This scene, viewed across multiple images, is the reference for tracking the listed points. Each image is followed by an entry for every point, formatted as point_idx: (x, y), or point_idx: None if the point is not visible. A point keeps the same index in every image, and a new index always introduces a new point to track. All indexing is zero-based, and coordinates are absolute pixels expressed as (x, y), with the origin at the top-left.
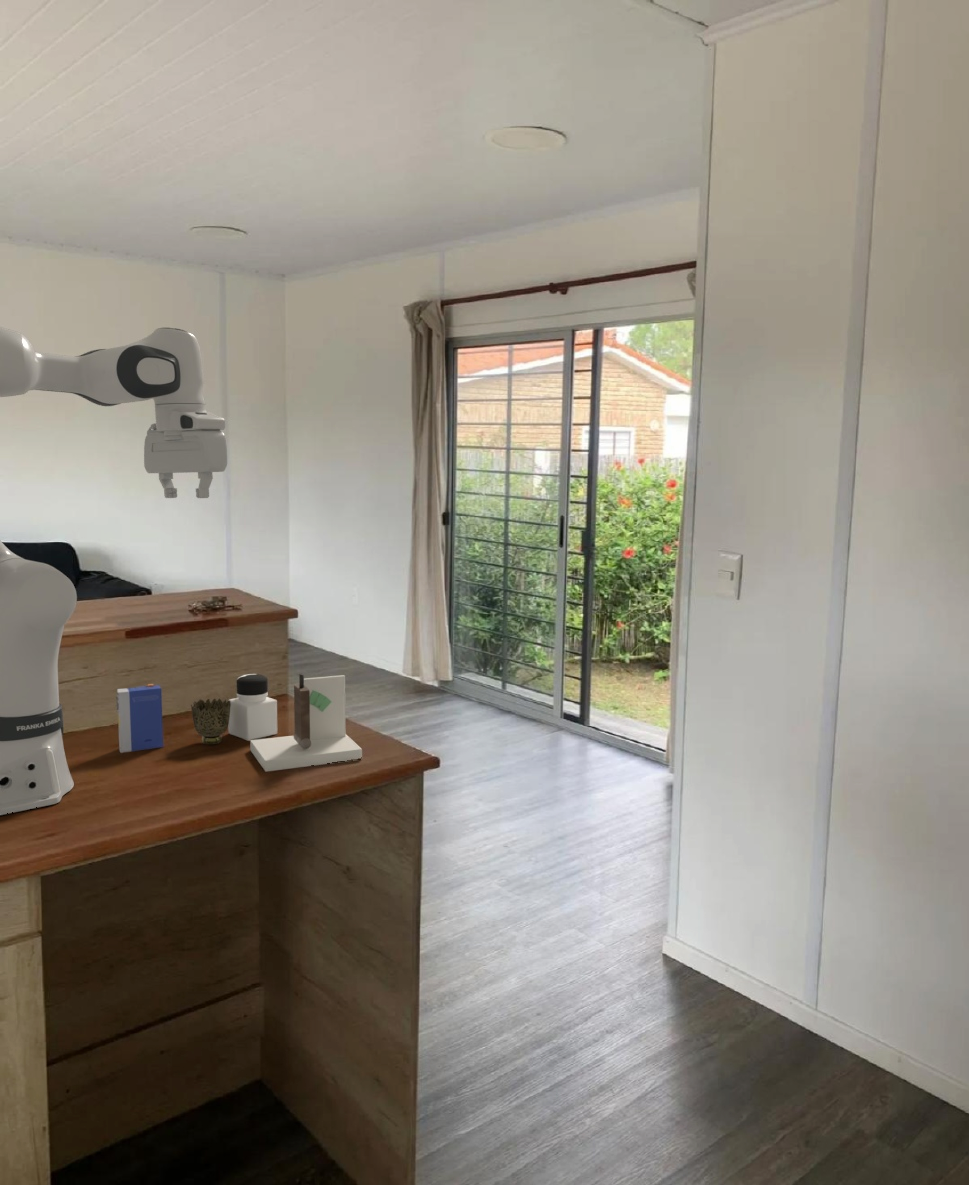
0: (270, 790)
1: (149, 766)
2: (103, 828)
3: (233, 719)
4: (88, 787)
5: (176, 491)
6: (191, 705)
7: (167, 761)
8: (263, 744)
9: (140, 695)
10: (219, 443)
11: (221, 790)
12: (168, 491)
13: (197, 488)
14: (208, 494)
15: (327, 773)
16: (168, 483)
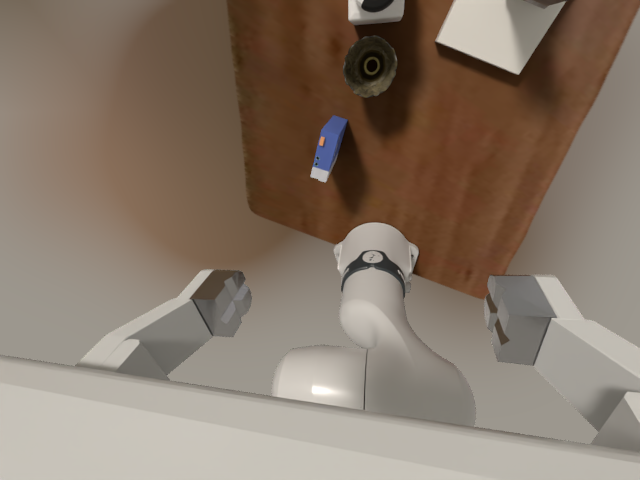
0: (564, 106)
1: (392, 160)
2: (491, 249)
3: (366, 22)
4: (402, 219)
5: (224, 289)
6: (357, 94)
7: (392, 139)
8: (466, 36)
9: (333, 157)
10: None
11: (512, 144)
12: (238, 325)
13: (521, 363)
14: (559, 288)
15: (599, 6)
16: (173, 337)
